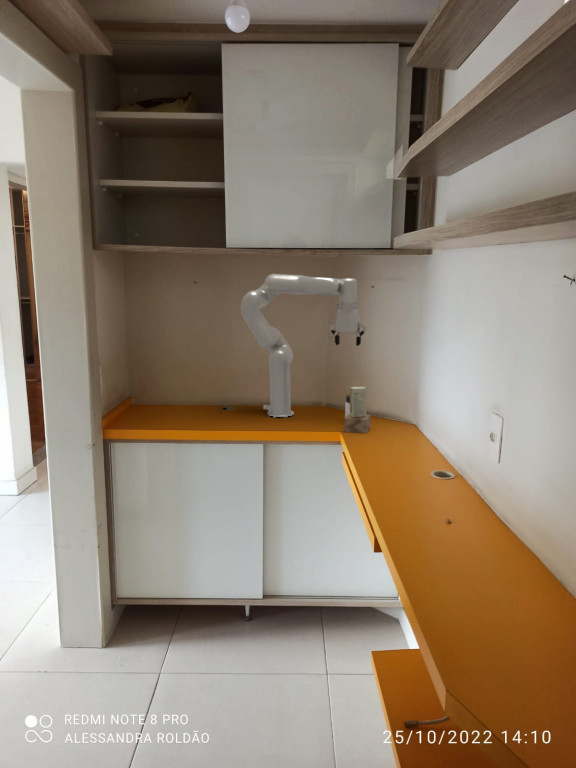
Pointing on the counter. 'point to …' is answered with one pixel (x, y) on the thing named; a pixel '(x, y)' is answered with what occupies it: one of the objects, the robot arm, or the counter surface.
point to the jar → (347, 405)
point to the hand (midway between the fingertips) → (347, 345)
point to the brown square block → (357, 424)
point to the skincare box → (358, 401)
